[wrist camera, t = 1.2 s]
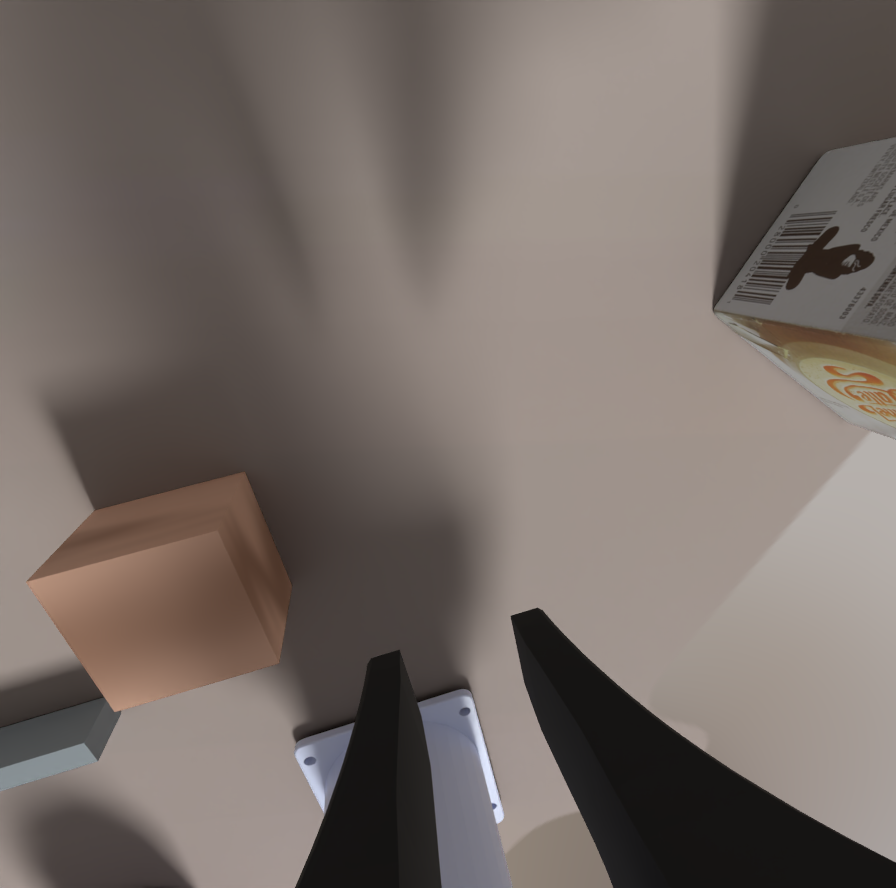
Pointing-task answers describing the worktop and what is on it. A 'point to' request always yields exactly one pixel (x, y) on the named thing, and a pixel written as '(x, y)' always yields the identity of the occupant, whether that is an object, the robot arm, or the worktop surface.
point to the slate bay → (55, 742)
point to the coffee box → (830, 286)
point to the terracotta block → (169, 591)
